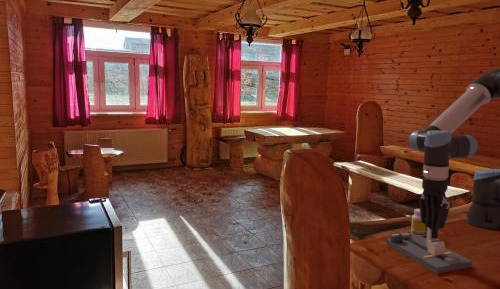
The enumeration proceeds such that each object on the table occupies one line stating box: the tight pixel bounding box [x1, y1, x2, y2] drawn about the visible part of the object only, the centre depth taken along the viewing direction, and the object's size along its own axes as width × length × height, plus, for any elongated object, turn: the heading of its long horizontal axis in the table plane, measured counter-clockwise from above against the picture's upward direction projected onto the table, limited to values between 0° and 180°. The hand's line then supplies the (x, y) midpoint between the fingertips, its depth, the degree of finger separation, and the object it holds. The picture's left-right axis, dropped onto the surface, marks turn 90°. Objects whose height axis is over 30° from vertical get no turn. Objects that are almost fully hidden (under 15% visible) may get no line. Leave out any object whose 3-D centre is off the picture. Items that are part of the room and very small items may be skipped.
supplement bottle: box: [410, 208, 427, 237], centre depth 147 cm, size 5×5×10 cm
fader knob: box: [428, 238, 446, 255], centre depth 125 cm, size 4×3×4 cm
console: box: [385, 232, 473, 274], centre depth 129 cm, size 14×24×5 cm, turn 18°
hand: (430, 246), depth 127 cm, fingers closed
